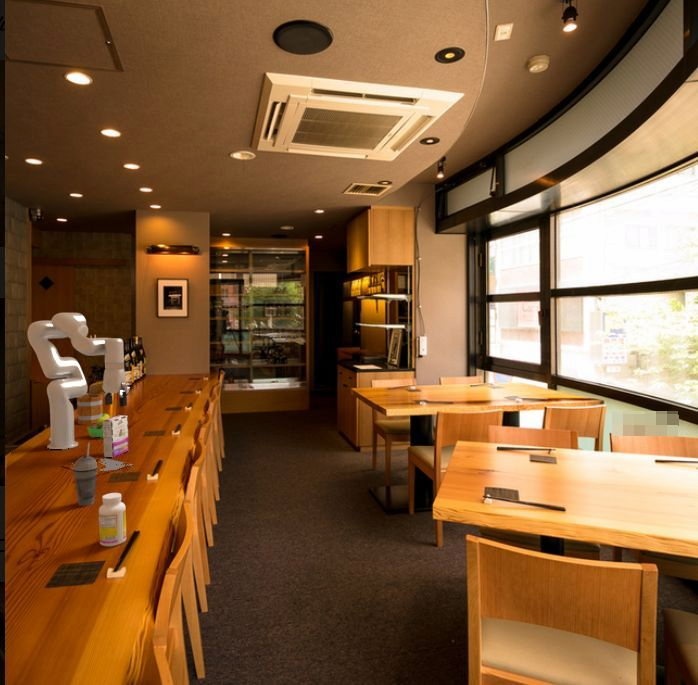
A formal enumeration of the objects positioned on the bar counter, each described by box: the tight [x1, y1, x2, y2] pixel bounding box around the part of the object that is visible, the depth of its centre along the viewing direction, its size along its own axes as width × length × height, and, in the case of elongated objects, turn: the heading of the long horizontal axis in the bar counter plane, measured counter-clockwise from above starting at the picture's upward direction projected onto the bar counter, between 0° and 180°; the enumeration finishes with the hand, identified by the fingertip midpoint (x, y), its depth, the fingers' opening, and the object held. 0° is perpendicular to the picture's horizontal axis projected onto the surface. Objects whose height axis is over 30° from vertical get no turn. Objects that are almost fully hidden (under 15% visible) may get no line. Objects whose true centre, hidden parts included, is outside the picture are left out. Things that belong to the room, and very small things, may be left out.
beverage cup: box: [72, 442, 98, 507], centre depth 168 cm, size 7×7×20 cm
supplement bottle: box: [98, 492, 127, 547], centre depth 140 cm, size 7×7×13 cm
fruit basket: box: [86, 413, 111, 439], centre depth 261 cm, size 11×9×11 cm
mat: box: [70, 457, 134, 471], centre depth 210 cm, size 24×16×1 cm, turn 60°
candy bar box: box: [102, 414, 130, 459], centre depth 228 cm, size 11×5×16 cm, turn 168°
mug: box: [76, 394, 104, 425], centre depth 298 cm, size 20×14×15 cm
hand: (116, 405), depth 227 cm, fingers open, 9 cm apart
